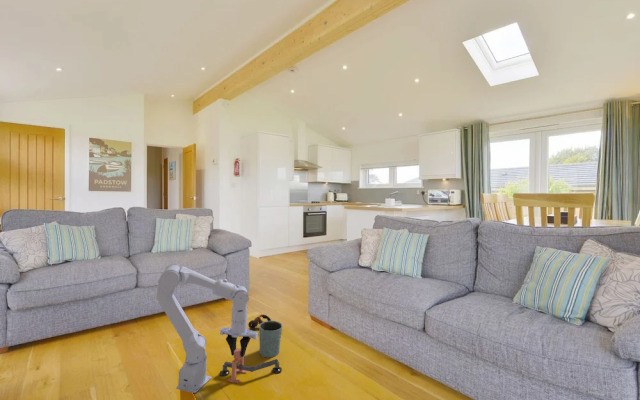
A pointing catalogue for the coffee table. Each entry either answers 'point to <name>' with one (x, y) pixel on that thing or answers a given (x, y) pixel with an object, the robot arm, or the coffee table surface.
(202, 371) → the robot arm
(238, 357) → the pink blocky toy figure
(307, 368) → the coffee table surface
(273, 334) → the green tapered cup
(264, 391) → the coffee table surface
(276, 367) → the wheeled bent frame
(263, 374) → the coffee table surface
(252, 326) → the vr controller
